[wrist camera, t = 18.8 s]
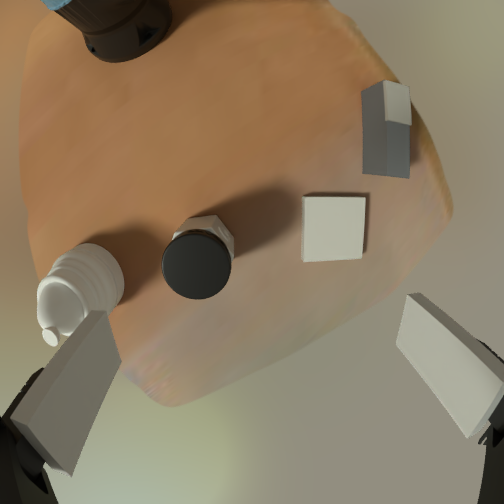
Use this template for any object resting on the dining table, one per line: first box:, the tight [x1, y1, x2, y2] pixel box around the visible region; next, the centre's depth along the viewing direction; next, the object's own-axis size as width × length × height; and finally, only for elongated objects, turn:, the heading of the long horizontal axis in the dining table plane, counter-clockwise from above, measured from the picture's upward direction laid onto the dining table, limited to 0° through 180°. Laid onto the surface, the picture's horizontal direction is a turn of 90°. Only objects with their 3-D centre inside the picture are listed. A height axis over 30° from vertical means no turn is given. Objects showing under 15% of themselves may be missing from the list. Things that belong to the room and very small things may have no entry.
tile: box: [301, 196, 365, 262], centre depth 43 cm, size 2×10×10 cm
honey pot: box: [37, 243, 124, 346], centre depth 35 cm, size 13×13×18 cm
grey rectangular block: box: [361, 80, 412, 179], centre depth 36 cm, size 14×4×8 cm, turn 0°
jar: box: [162, 215, 234, 299], centre depth 37 cm, size 9×8×12 cm
